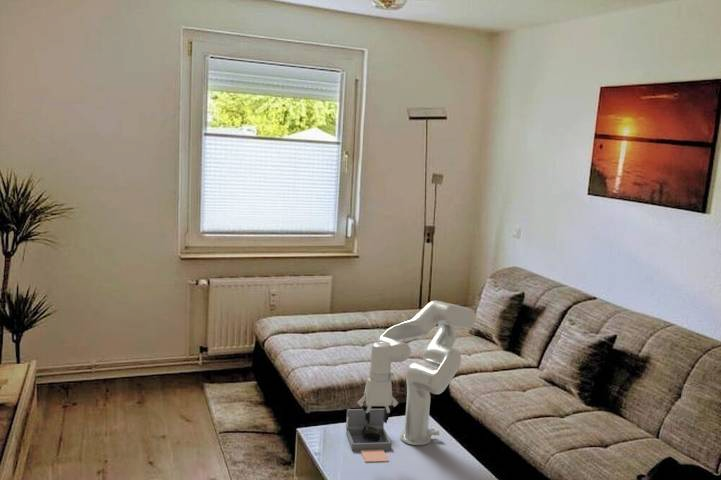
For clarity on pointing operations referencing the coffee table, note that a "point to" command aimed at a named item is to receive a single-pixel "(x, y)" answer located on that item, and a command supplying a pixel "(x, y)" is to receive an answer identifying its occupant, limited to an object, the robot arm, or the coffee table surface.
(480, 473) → the coffee table surface
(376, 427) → the case
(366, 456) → the mat
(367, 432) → the tape measure
